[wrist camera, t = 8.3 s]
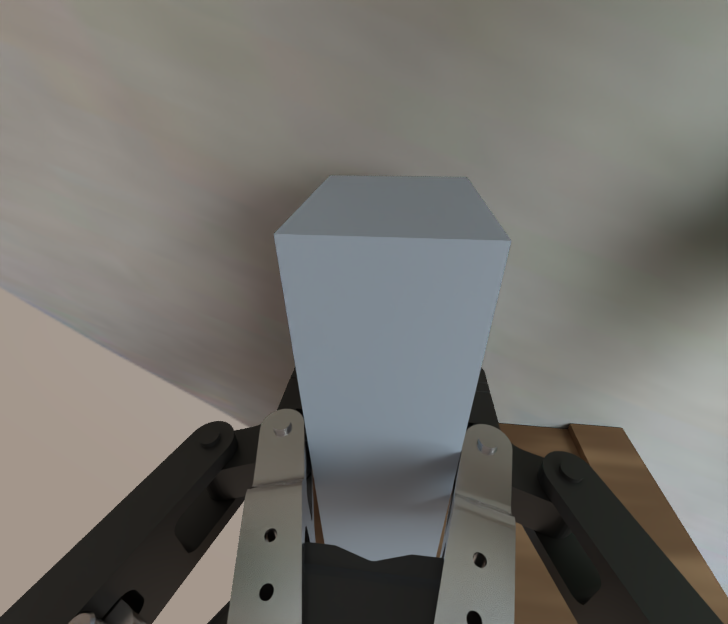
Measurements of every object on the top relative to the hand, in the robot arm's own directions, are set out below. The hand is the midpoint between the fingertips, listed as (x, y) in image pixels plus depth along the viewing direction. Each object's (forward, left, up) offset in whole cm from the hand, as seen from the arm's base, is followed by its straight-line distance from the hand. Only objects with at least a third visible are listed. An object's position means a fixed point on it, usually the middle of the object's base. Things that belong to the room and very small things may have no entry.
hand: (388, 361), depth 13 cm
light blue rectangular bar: (0, 0, 0) cm, 0 cm away
